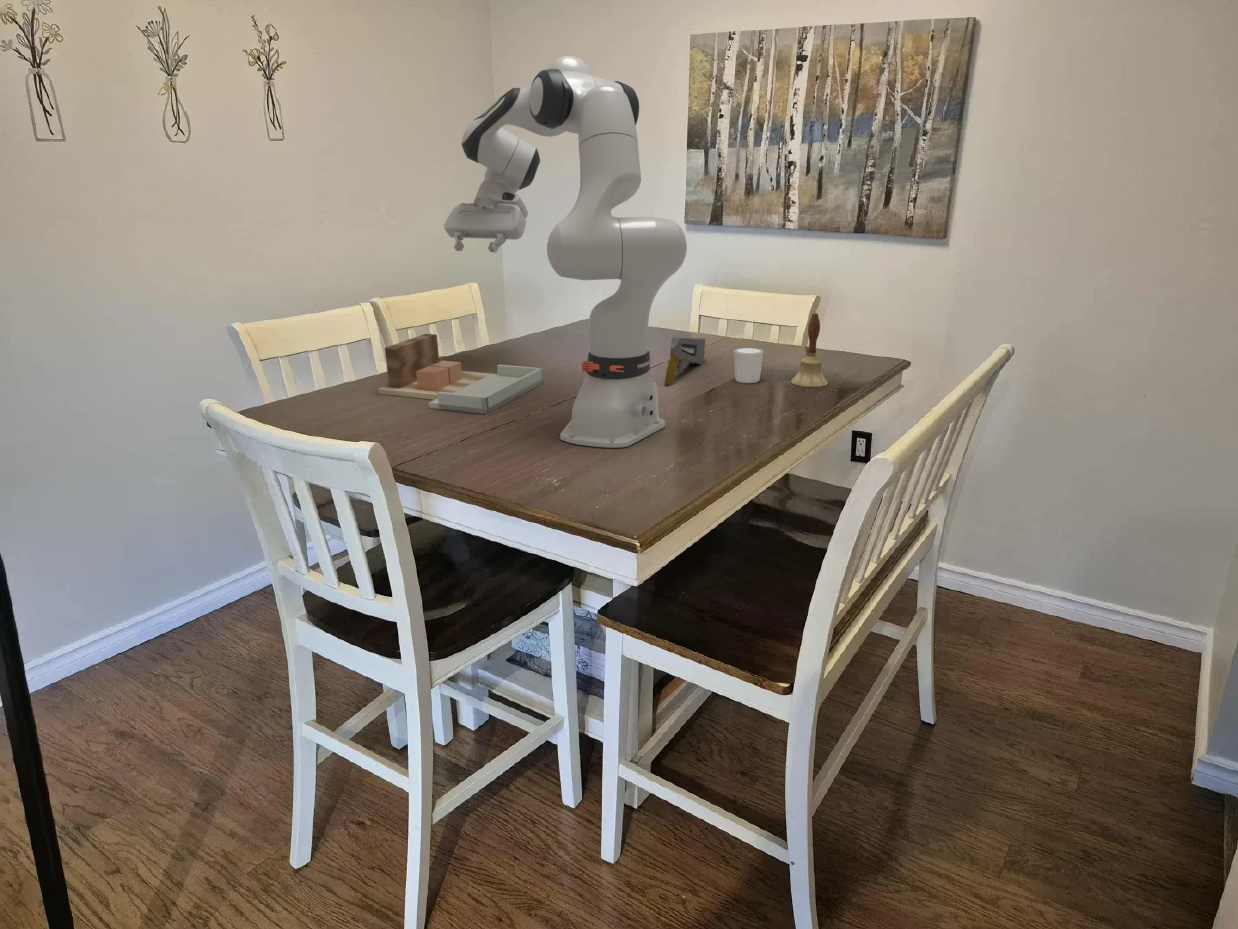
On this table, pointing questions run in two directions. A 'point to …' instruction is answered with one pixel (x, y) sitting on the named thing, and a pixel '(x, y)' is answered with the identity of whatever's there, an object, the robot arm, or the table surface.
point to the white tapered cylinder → (748, 364)
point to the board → (414, 392)
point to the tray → (491, 390)
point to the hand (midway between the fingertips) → (474, 250)
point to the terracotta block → (432, 378)
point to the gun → (684, 355)
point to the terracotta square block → (451, 370)
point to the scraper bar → (410, 359)
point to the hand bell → (811, 360)
